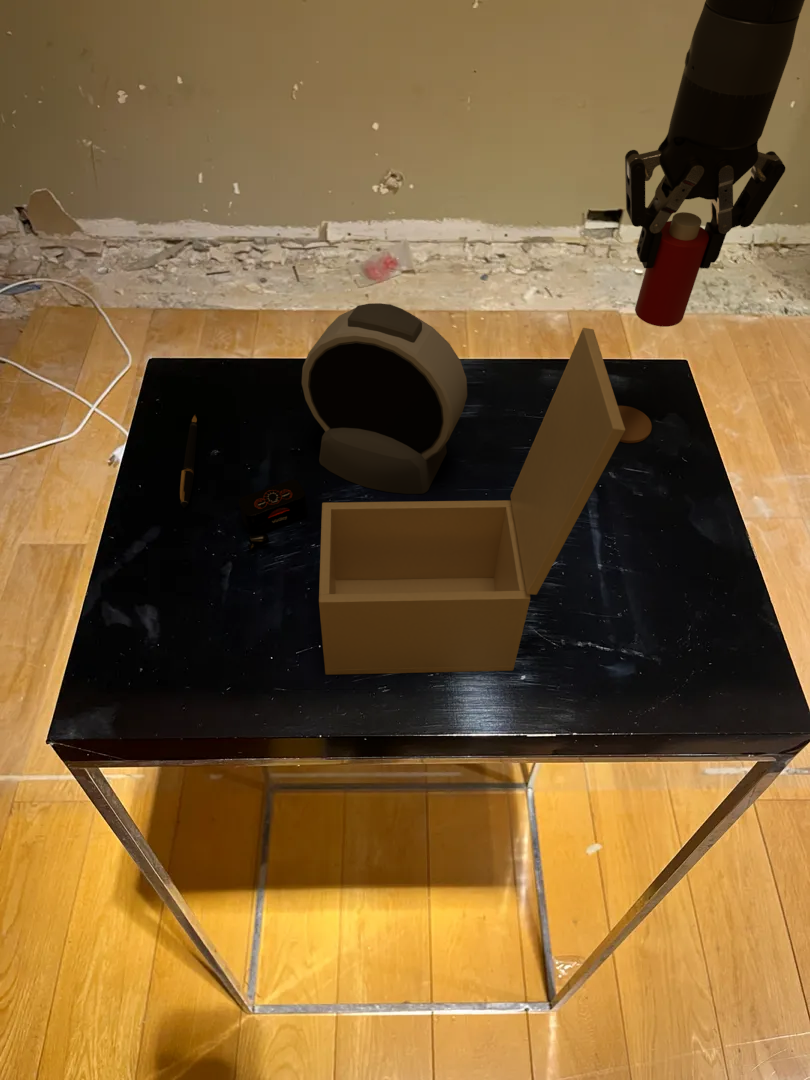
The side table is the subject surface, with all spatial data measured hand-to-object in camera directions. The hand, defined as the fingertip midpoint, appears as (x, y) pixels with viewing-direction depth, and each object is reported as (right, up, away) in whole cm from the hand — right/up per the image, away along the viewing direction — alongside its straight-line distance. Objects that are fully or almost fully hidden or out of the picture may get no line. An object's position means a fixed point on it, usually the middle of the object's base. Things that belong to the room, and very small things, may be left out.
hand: (674, 263), depth 79 cm
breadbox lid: (-15, -21, -18) cm, 31 cm away
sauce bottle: (0, -4, +4) cm, 6 cm away
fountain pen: (-49, -18, +10) cm, 53 cm away
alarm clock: (-28, -17, +11) cm, 35 cm away
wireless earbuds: (-39, -25, +4) cm, 47 cm away
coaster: (-1, -13, +16) cm, 21 cm away
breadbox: (-25, -34, -3) cm, 42 cm away
